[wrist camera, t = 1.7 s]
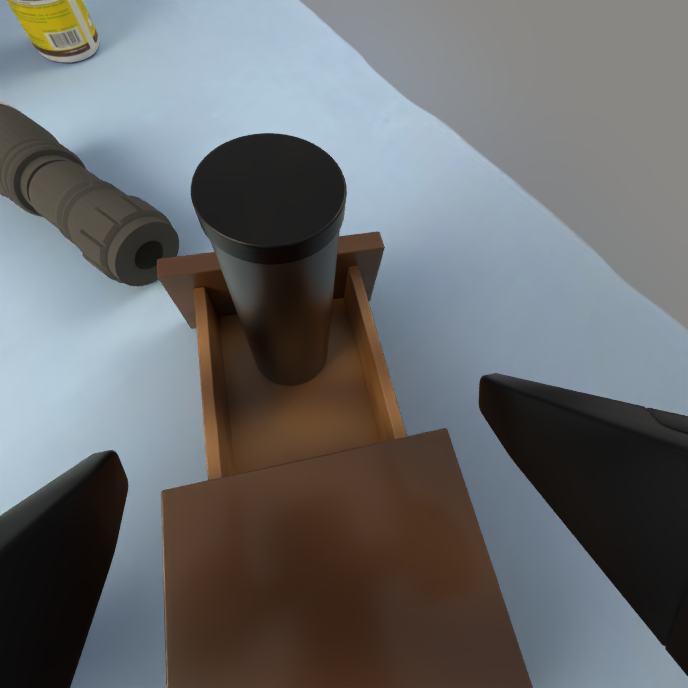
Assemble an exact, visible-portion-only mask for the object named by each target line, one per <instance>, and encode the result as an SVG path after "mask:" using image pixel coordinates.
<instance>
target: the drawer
mask: <svg viewBox="0 0 688 688" xmlns="http://www.w3.org/2000/svg"><path fill="white" fill-rule="evenodd" d="M384 248H385V247H384V244H383V241H382V238H381V235H380V232H371V233H363V234H355V235H347V236H339V242H338V252H337V262H336V272H335V282H334V292H333V302H332V312H331V322H330V332H329V342H328V352H327V359H326V362H325V364H324V366H323V368H322V370H321V371H320V372H319V373H318V374H317V375H316V376H315V377H314V378H313V379H311V380H309V381H308V382H305V383H303V384H299V385H293V386H287V385H281V384H277V383H275V382H273V381H271V380H269V379H268V378H266V377H265V376H264V375H263V374H262V373H261V371H260V370H259V368H258V367H257V364H256V362H255V359H254V356H253V354H252V351H251V348H250V346H249V343H248V340H247V338H246V335H245V332H244V330H243V327H242V324H241V322H240V319H239V316H238V313H237V311H236V308H235V305H234V303H233V300H232V297H231V295H230V292H229V289H228V287H227V284H226V281H225V279H224V276H223V273H222V271H221V268H220V265H219V263H218V260H217V257H216V255H215V252H210V253H202V254H194V255H186V256H178V257H170V258H162V259H157V274H158V279H159V280H160V282H161V283H162V285H163V286H164V288H165V289H166V291H167V292H168V294H169V295H170V297H171V298H172V300H173V302H174V303H175V305H176V306H177V308H178V309H179V311H180V312H181V314H182V315H183V317H184V318H185V320H186V321H187V323H188V324H189V326H190V327H191V328H192V329H193V328H197V338H198V352H199V365H200V378H201V392H202V405H203V419H204V432H205V445H206V459H207V472H208V480H212V479H217V478H221V477H226V476H230V475H235V474H239V473H244V472H249V471H253V470H258V469H262V468H267V467H271V466H276V465H280V464H285V463H289V462H294V461H298V460H303V459H307V458H312V457H317V456H321V455H326V454H330V453H335V452H339V451H344V450H348V449H353V448H357V447H362V446H366V445H371V444H375V443H380V442H385V441H389V440H394V439H398V438H403V437H407V435H406V431H405V428H404V424H403V421H402V417H401V414H400V410H399V407H398V403H397V400H396V396H395V393H394V389H393V386H392V382H391V379H390V375H389V372H388V368H387V365H386V361H385V358H384V355H383V351H382V348H381V344H380V341H379V337H378V334H377V330H376V327H375V323H374V320H373V316H372V313H371V309H370V306H369V302H368V301H370V299H371V295H372V291H373V288H374V284H375V280H376V277H377V273H378V270H379V266H380V262H381V259H382V255H383V251H384Z"/></svg>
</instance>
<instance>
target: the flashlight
mask: <svg viewBox="0 0 688 688" xmlns="http://www.w3.org/2000/svg"><path fill="white" fill-rule="evenodd" d="M0 194H1V195H3V196H5V197H8V198H10V199H11V200H12V201H13V202H15V203H16V204H17V205H19V206H20V207H21V208H22V209H24V210H25V211H27V212H29V213H31V214H34V215H37V216H41V217H44V218H45V219H47V220H48V221H49V222H51V223H52V224H53V225H54V226H56V227H57V228H58V229H59V230H60V231H61V233H62V234H63V235H64V236H65V237H66V238H67V239H69V240H70V241H71V242H72V243H74V244H75V245H76V246H77V247H78V248H79V249H80V250H81V251H82V252H83V257H84V258H85V259H86V260H87V261H89V262H90V263H91V264H92V265H94V266H95V267H96V268H98V269H99V270H100V271H101V272H103V273H104V274H105V275H107V276H108V277H109V278H111V279H113V280H116V281H117V282H119V283H125V284H128V285H131V286H143V285H147V284H150V283H152V282H154V281H156V280H157V279H158V274H157V259H162V258H170V257H177V253H178V249H179V238H178V235H177V233H176V231H175V230H174V228H173V227H172V225H171V223H170V221H169V220H168V219H167V217H166V216H165V215H163V214H162V213H161V212H159V211H158V210H156V209H155V208H154V207H152V206H151V205H149V204H148V203H146V202H145V201H143V200H141V199H140V198H138V197H135V196H130V195H127V194H125V193H123V192H121V191H120V190H119V189H117V188H116V187H114V186H113V185H111V184H109V183H107V182H105V181H102V180H100V179H99V178H98V177H96V176H95V175H93V174H92V173H91V172H89V171H88V170H86V168H85V166H84V164H83V163H82V161H81V160H80V159H79V158H78V157H77V156H76V155H75V154H74V153H72V152H71V151H69V150H68V149H67V148H65V147H64V146H62V145H61V144H59V142H58V141H57V140H56V138H55V137H54V136H53V135H52V134H51V133H49V132H48V131H47V130H46V129H44V128H43V127H41V126H40V125H38V124H37V123H36V122H34V121H33V120H31V119H30V118H28V117H27V116H26V115H24V114H23V113H21V112H20V111H18V110H17V109H15V108H13V107H12V106H10V105H7V104H5V103H2V102H0Z"/></svg>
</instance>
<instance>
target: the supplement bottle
mask: <svg viewBox="0 0 688 688" xmlns="http://www.w3.org/2000/svg"><path fill="white" fill-rule="evenodd" d="M7 2H8V3H9V5H10V7H11V8H12V10H13V12H14V13H15V15H16V17H17V18H18V20H19V22H20V23H21V25H22V27H23V28H24V30H25V31H26V33H27V35H28V36H29V38H30V40H31V41H32V43H33V45H34V46H35V48H36V49H37V51H38V52H39V53H40V54H41V55H43V56H44V57H46V58H47V59H50V60H52V61H56V62H63V63H69V62H77V61H81V60H84V59H86V58H88V57H90V56H91V55H93V54H94V53H95V52H96V51H97V49H98V47H99V37H98V34H97V32H96V29H95V27H94V25H93V23H92V20H91V18H90V16H89V14H88V12H87V10H86V7H85V5H84V3H83V1H82V0H7Z"/></svg>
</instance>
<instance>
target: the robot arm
mask: <svg viewBox="0 0 688 688" xmlns="http://www.w3.org/2000/svg"><path fill="white" fill-rule="evenodd" d="M479 408H480V411H481V413H482V415H483V416H484V418H485V419H486V421H487V422H488V424H489V425H490V427H491V428H492V430H493V431H494V433H495V435H496V436H497V438H498V439H499V441H500V442H501V444H502V445H503V447H504V448H505V450H506V451H507V453H508V454H509V456H510V457H511V458H512V460H513V461H514V462H515V464H516V465H517V466H518V467H519V469H520V470H521V471H522V472H523V474H524V475H525V476H526V477H527V478H528V480H529V481H530V482H531V483H532V485H533V486H534V487H535V488H536V490H537V491H538V492H539V493H540V495H541V496H542V497H543V498H544V499H545V501H546V502H547V503H548V504H549V506H550V507H551V508H552V509H553V511H554V512H555V513H556V514H557V515H558V517H559V518H560V519H561V520H562V522H563V523H564V524H565V525H566V527H567V528H568V529H569V530H570V531H571V533H572V534H573V535H574V536H575V538H576V539H577V540H578V541H579V543H580V544H581V545H582V546H583V548H584V549H585V550H586V551H587V552H588V554H589V555H590V556H591V557H592V559H593V560H594V561H595V562H596V564H597V565H598V566H599V567H600V568H601V570H602V571H603V572H604V573H605V575H606V576H607V577H608V578H609V580H610V581H611V582H612V583H613V584H614V586H615V587H616V588H617V589H618V591H619V592H620V593H621V594H622V596H623V597H624V598H625V599H626V601H627V602H628V603H629V604H630V605H631V607H632V608H633V609H634V610H635V612H636V613H637V614H638V615H639V617H640V618H641V619H642V620H643V621H644V623H645V624H646V625H647V626H648V628H649V629H650V630H651V631H652V633H653V634H654V635H655V636H656V637H657V639H658V640H659V641H660V642H661V644H662V645H664V646H666V647H665V649H666V650H667V651H668V653H669V654H670V655H671V656H672V658H673V659H674V660H675V661H676V663H677V664H678V665H679V666H680V667H681V669H682V670H683V671H684V672H685V674H686V675H687V676H688V416H684V415H679V414H675V413H670V412H666V411H661V410H657V409H652V408H647V409H646V408H645V407H643V406H639V405H634V404H630V403H626V402H621V401H617V400H612V399H608V398H604V397H599V396H595V395H590V394H586V393H582V392H577V391H573V390H568V389H564V388H559V387H555V386H551V385H546V384H542V383H537V382H533V381H529V380H524V379H520V378H515V377H511V376H507V375H502V374H498V373H494V374H489V375H485V376H482V377H481V379H480V383H479ZM127 492H128V479H127V476H126V474H125V471H124V469H123V466H122V464H121V461H120V459H119V456H118V454H117V453H116V452H115V451H113V450H109V451H104V452H99V453H95V454H92V455H91V456H89V457H88V458H86V459H85V460H83V461H82V462H80V463H79V464H77V465H76V466H74V467H73V468H71V469H70V470H68V471H67V472H65V473H64V474H62V475H61V476H59V477H58V478H56V479H55V480H53V481H52V482H50V483H49V484H47V485H46V486H44V487H43V488H41V489H40V490H38V491H37V492H35V493H34V494H32V495H31V496H29V497H28V498H26V499H25V500H23V501H22V502H20V503H19V504H17V505H16V506H14V507H13V508H11V509H10V510H8V511H7V512H5V513H4V514H2V515H1V516H0V688H70V686H71V683H72V680H73V677H74V674H75V671H76V668H77V665H78V662H79V659H80V656H81V653H82V650H83V647H84V644H85V641H86V638H87V635H88V632H89V629H90V626H91V623H92V620H93V617H94V614H95V611H96V608H97V605H98V602H99V599H100V596H101V593H102V590H103V587H104V584H105V581H106V578H107V575H108V572H109V569H110V566H111V562H112V559H113V556H114V552H115V548H116V544H117V539H118V535H119V530H120V525H121V520H122V516H123V511H124V506H125V502H126V497H127Z"/></svg>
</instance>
